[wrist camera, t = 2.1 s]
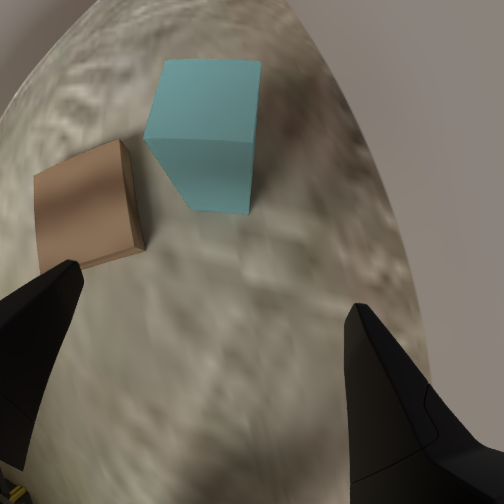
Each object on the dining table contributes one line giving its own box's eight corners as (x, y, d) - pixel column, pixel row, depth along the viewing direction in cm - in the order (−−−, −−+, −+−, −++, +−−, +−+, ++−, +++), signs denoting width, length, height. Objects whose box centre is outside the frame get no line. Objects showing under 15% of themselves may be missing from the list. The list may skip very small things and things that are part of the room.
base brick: (145, 250, 22) (134, 246, 20) (57, 277, 22) (40, 275, 20) (129, 151, 23) (119, 138, 21) (48, 183, 23) (33, 175, 20)
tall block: (248, 214, 23) (253, 142, 11) (191, 210, 23) (143, 138, 11) (253, 161, 24) (261, 61, 12) (198, 157, 23) (166, 60, 12)
